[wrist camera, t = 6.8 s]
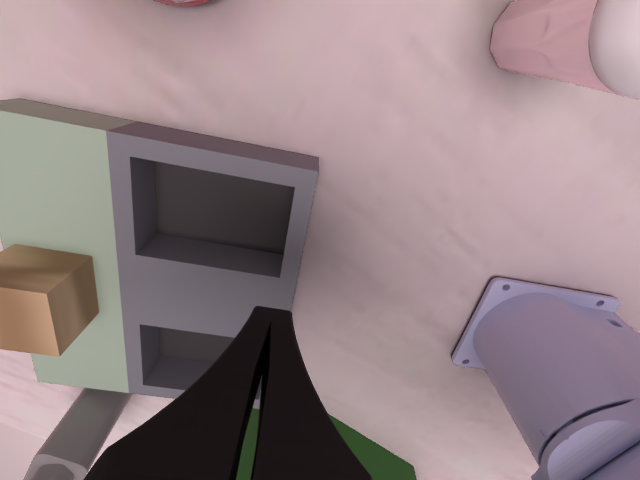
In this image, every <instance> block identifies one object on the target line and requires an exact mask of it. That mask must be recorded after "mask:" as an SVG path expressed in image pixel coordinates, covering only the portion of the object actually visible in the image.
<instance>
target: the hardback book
mask: <svg viewBox="0 0 640 480" xmlns="http://www.w3.org/2000/svg"><path fill="white" fill-rule="evenodd" d="M328 415H329V414H328ZM329 417H330V418H331V420H332V421H333V423H334V425H335V426H336V428H337V430H338V431H339V433H340V434H341V436H342V437H343V439H344V440H345V442H346V443H347V445H348V446H349V448H350V449H351V450H352V452H353V453H354V454H355V456H356V457H357V458H358V460H359V461H360V462H361V464H362V465H363V466H364V467H365V469H366V470H367V471H368V473H369V474H370V475H371V476H372V479H373V480H417V479H416V475H415V471H414V467H413V466H412V465H411V464H409V463H407V462H406V461H404V460H403V459H401V458H399V457H398V456H396V455H394V454H393V453H391V452H389V451H388V450H386V449H385V448H383V447H381V446H380V445H378V444H376V443H375V442H373V441H372V440H370V439H368V438H367V437H365V436H363V435H362V434H360V433H359V432H357V431H355V430H354V429H352V428H350V427H349V426H347V425H345V424H344V423H342V422H341V421H339V420H337V419H336V418H334V417H332V416H331V415H329ZM258 418H259V409H255V408H253V409H252V412H251V416H250V419H249V423H248V426H247V430H246V434H245V438H244V442H243V446H242V451H241V457H240V462H239V467H238V472H237V477H236V480H250V478H251V472H252V466H253V460H254V454H255V448H256V440H257V430H258Z"/></svg>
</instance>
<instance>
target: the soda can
mask: <svg viewBox="0 0 640 480" xmlns="http://www.w3.org/2000/svg"><path fill="white" fill-rule="evenodd" d="M154 1H156V2H160V3H163V4H168V5H175V6H193V5H199V4H203V3H206V2H209V1H212V0H154Z"/></svg>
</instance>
